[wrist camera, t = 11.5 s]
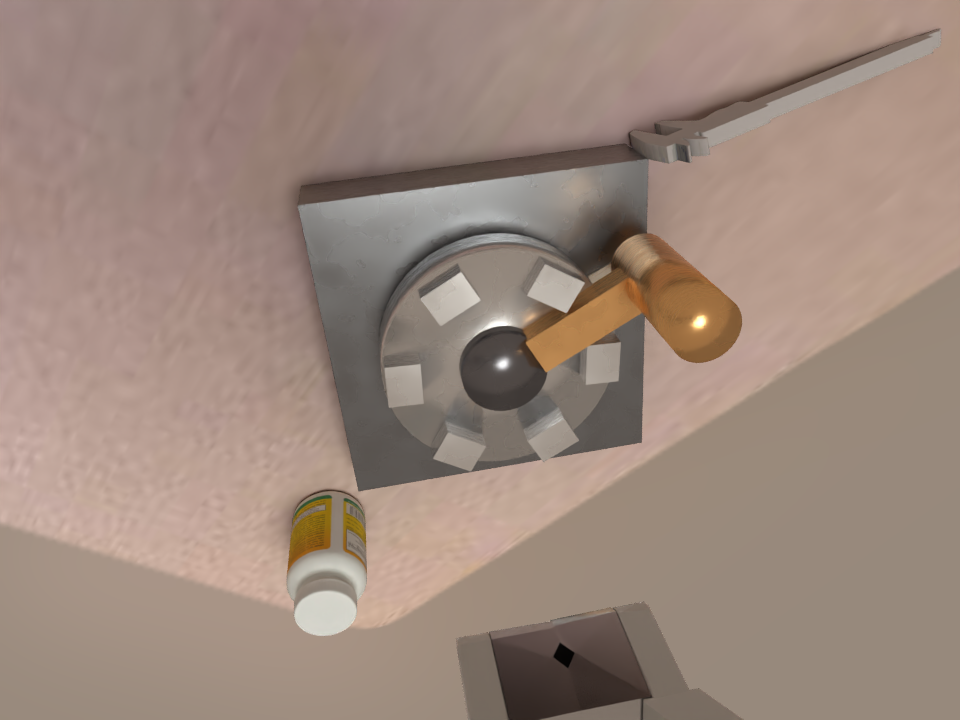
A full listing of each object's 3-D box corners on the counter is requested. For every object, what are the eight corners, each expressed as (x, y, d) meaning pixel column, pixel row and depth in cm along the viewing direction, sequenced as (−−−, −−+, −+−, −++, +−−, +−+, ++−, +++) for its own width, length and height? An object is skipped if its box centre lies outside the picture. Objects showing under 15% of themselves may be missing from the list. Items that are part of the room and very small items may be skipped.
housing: (357, 456, 54) (358, 492, 50) (301, 186, 44) (297, 206, 40) (622, 412, 56) (642, 443, 52) (625, 143, 46) (649, 159, 42)
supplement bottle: (373, 495, 56) (379, 589, 47) (354, 548, 58) (356, 648, 50) (301, 482, 54) (294, 578, 46) (284, 537, 56) (274, 638, 48)
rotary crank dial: (459, 469, 50) (485, 585, 41) (331, 319, 44) (329, 416, 34) (700, 321, 48) (787, 408, 39) (605, 137, 41) (681, 189, 32)
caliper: (628, 147, 47) (666, 172, 41) (625, 130, 46) (663, 154, 41) (936, 44, 47) (1014, 56, 41) (936, 26, 46) (1016, 35, 41)
